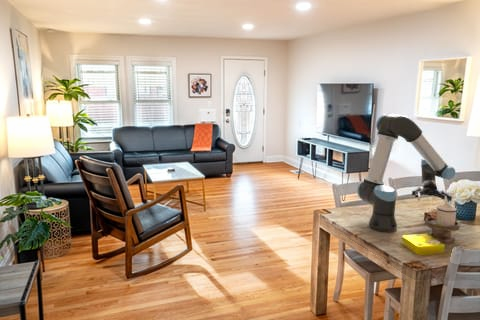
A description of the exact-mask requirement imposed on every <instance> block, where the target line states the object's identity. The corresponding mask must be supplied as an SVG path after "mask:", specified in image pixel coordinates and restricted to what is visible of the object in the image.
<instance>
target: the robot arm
mask: <svg viewBox="0 0 480 320" xmlns="http://www.w3.org/2000/svg"><path fill="white" fill-rule="evenodd" d="M375 125H376V130H377V134H376V135H377V136H378V139H377V142H376V146H375V149H374V153H373V156H372V160H371V164H370V167H369V170H368V173H367V176H366V177H364V179H363V181H361V182H360V183H359V184H358V185H357V189H356V193H357V195H358V198H359V199H360V200H362V201H363V202H365V203H367V204H369V205H371V206H373V207H372V214H371V217H370V219H369V221H368V227H369V229H372V230H373V231H376V232H381V233H392V232H396V231H397V229H398V224H397V220H396V216H395V213H396V202H397V192H396V189H395V188H394V187H392V186H390V185H389V186H388V185H385V183H384V181H383V180H384V177H385V172H386V169H387V166H388V162H389V159H390V155H391V153H392V149H393V145H394V142H396V141H397V140H398V139H399V137H401V138H403V140H404V141H406V142H407V143H410V144H411V146H413V148H414V149H415V150H416V151H417V152H418V153H419V155H420V156H421V157H422V159H420V160H421V165H420V167H421V184H422V187H420V186H418V187H417V188H415V189H413V190H411V195H412V196H414V198H417V201H418V202H420V200H421V196H423V195H424V196H433V197H435V198H440V199H442V200H443V202H444V204H445V203H448V202H449V201H451V199H452V196H450V195H449V193H447V192H445V190H440V191H439V190H438V187H437V183H436V178H437V177H438V178H440V179H443V180H444V179H445V180H452V179H453V178H454V177H455V175H456V169H455V168H454V167H452V166H450V165H448V164H447V163H446V162H445V161H444V159H443V158H442V157H441V156H440V154H439V153H438V152H437V151H436V149H434V148H435V147H433V146H432V144H431V143H430V142H429V141H428V140H427V139H426V137H425V136H424V135H423V130H422V129H421V128H420V127H419V126H418V125H417V123H416V122H415V121H414V120H413V119H411V118H410V117H409V116H407V115H403V114H396V113H385V114H382V115H380V116H379V118H377V121H376V124H375Z"/></svg>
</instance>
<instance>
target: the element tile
mask: <svg viewBox="0 0 480 320" xmlns="http://www.w3.org/2000/svg"><path fill="white" fill-rule="evenodd" d="M401 245H403V246H404V247H406V248H407V249H408V250H410V251H411V252H412V253H414V254H416V255H419V256H424V255H435V254H444V253H445V247H446V243H442V242H440V241H438V240H437V239H435V238H433V237H432V236H430V235H428V234H427V233H419V234H406V235H405V234H403V235H402V236H401Z"/></svg>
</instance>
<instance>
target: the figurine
mask: <svg viewBox="0 0 480 320" xmlns="http://www.w3.org/2000/svg"><path fill="white" fill-rule="evenodd" d="M448 194H449V193H448ZM449 195H450V196H452V199H451V201H449V202H447V203H449V204H450V205H451V206H452V207H454V206H455V205H453V201H454V195H455V194H454V195H452V194H449Z"/></svg>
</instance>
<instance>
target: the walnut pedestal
mask: <svg viewBox="0 0 480 320" xmlns="http://www.w3.org/2000/svg"><path fill="white" fill-rule="evenodd" d="M432 216H433V217H436V218H437V215H436V216H434V215H432ZM424 223H425V225H426V227H429V228H431V231H429V232H427V233H426V234H428V235H430V236H432V237H433V238H435V239H437V240H438V241H440V242H442V243H443V244H451V243H452V244H453V243H454V242H455V241H456V239H455V238H456V237H455V236H454V235H452V232H457V231H458V230H460V227H461V222H459V221H458V220H456V219H455V226H452V227H450V226H440V225H438V224H437V223H436V219H434V218H432V217H431V216H427V217H425V218H424Z"/></svg>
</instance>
